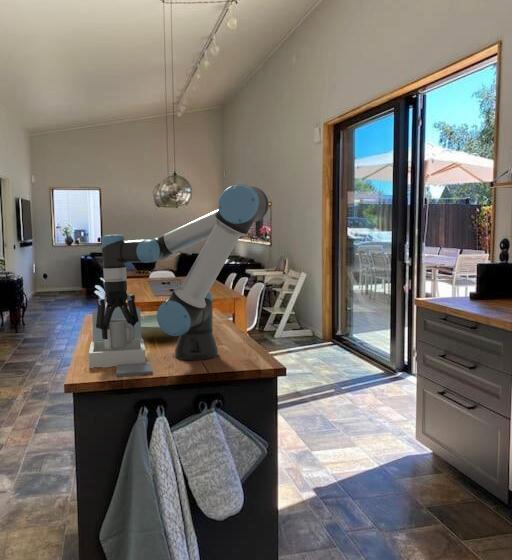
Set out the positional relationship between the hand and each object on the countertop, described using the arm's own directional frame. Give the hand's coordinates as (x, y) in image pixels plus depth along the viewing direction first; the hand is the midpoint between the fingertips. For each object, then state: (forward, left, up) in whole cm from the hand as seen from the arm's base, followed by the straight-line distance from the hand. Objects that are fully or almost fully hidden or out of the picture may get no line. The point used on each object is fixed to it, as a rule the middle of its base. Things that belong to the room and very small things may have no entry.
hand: (119, 345), depth 193 cm
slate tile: (-15, +5, -5) cm, 17 cm away
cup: (0, -1, -1) cm, 1 cm away
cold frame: (+3, -1, -5) cm, 6 cm away
